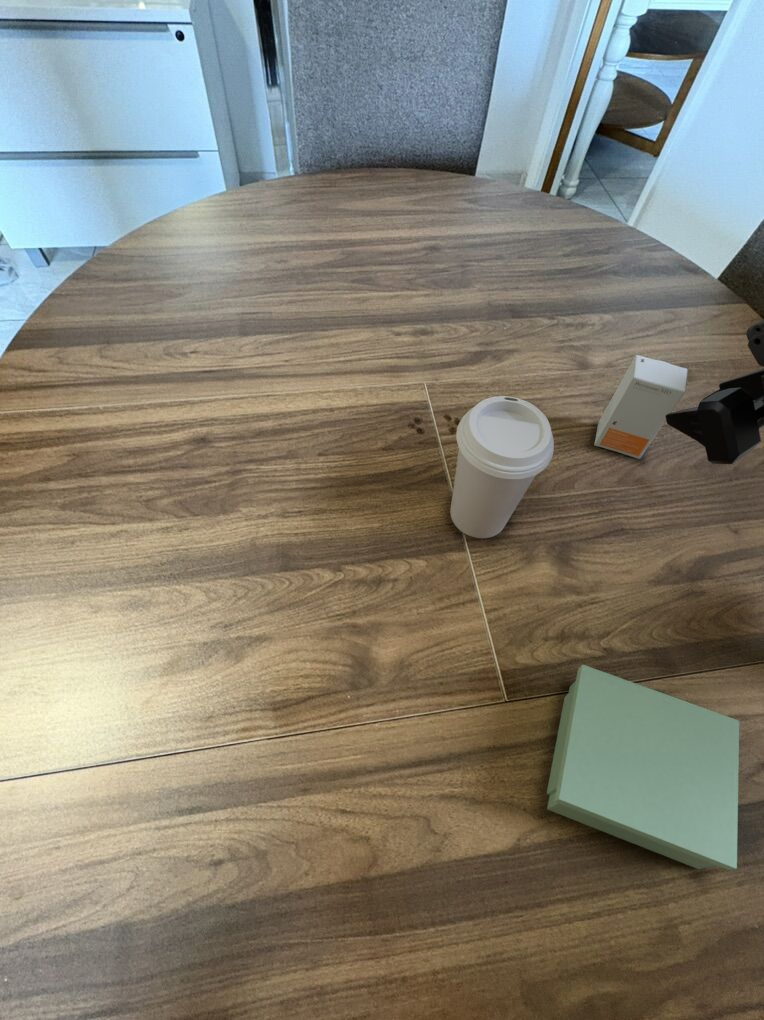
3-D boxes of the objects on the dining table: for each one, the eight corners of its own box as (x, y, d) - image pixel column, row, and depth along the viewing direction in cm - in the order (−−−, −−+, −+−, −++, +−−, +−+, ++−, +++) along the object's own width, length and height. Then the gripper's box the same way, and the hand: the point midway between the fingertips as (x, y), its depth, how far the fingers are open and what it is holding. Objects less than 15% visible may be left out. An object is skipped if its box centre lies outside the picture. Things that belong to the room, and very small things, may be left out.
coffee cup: (532, 504, 72) (574, 416, 59) (498, 564, 67) (537, 481, 54) (459, 469, 74) (485, 376, 62) (422, 524, 69) (442, 435, 57)
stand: (710, 735, 58) (739, 720, 54) (704, 874, 51) (737, 869, 47) (564, 682, 60) (582, 664, 56) (540, 809, 53) (558, 799, 49)
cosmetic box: (593, 447, 78) (631, 376, 68) (597, 423, 80) (635, 352, 70) (640, 461, 77) (686, 391, 67) (643, 437, 79) (688, 367, 69)
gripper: (902, 268, 54) (732, 303, 68) (779, 337, 47) (618, 361, 61) (915, 388, 57) (750, 398, 71) (802, 469, 50) (644, 463, 64)
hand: (694, 403), depth 67 cm, fingers open, 9 cm apart
